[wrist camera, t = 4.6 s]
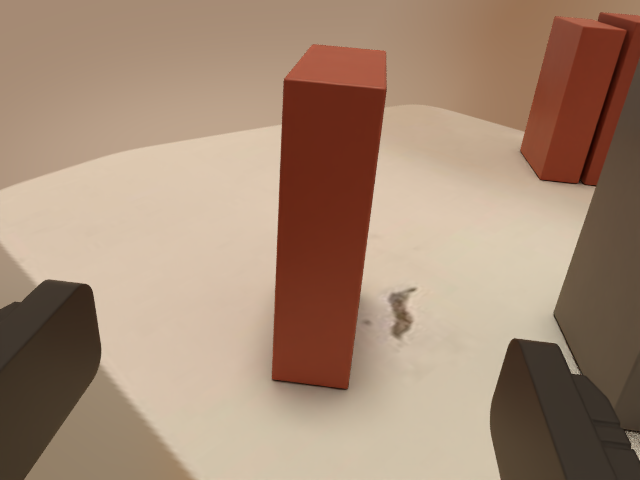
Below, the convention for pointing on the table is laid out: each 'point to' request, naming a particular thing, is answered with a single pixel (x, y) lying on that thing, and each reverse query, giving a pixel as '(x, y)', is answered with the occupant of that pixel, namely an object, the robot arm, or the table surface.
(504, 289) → the table surface
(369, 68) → the red book
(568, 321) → the grey books
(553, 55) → the red books
